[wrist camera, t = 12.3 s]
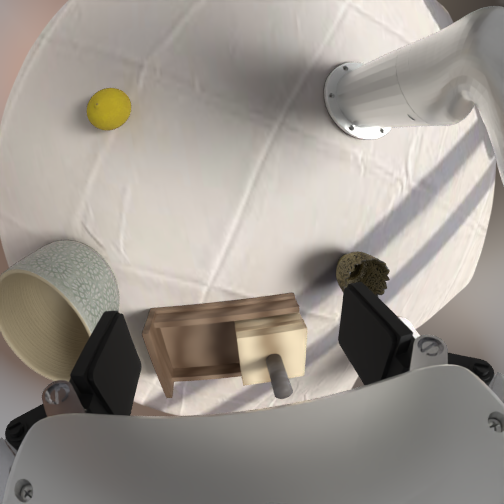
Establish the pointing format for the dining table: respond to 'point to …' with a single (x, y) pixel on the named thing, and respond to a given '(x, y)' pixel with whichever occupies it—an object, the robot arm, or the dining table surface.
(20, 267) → the planter
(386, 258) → the dining table surface
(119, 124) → the lemon
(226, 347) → the bay
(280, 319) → the drawer front with knob
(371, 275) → the olive hollow rounded container
